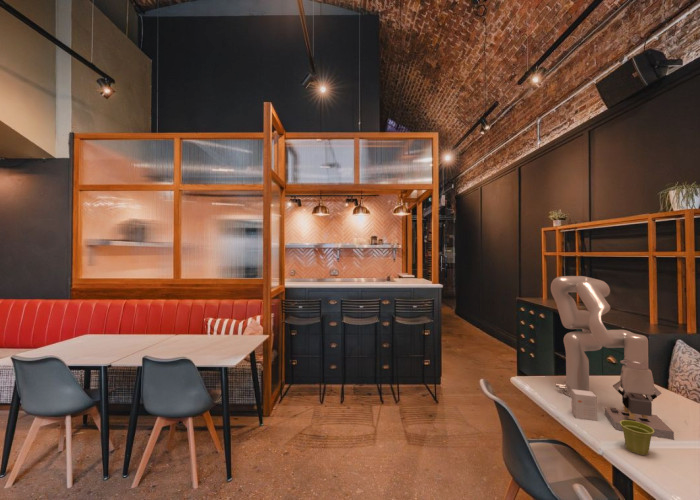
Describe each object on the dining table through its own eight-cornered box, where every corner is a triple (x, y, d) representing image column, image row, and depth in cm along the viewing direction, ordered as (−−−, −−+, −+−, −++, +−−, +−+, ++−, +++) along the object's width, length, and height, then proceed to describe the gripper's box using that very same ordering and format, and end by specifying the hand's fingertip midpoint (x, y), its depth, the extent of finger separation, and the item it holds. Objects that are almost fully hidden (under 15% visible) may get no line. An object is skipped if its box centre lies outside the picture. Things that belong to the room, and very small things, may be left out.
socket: (615, 429, 132) (615, 420, 132) (604, 414, 145) (604, 406, 145) (673, 439, 126) (673, 430, 126) (656, 422, 138) (656, 413, 138)
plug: (631, 419, 132) (631, 398, 132) (622, 409, 141) (622, 389, 141) (651, 422, 130) (651, 401, 130) (641, 412, 138) (641, 392, 138)
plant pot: (613, 443, 123) (613, 420, 123) (636, 442, 124) (636, 419, 124) (637, 459, 114) (637, 434, 114) (661, 457, 115) (661, 432, 115)
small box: (592, 415, 145) (592, 391, 145) (597, 421, 139) (597, 396, 139) (571, 412, 147) (571, 388, 147) (575, 418, 142) (575, 393, 142)
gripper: (613, 364, 136) (614, 408, 135) (667, 370, 129) (668, 416, 129) (607, 359, 142) (607, 400, 142) (658, 364, 136) (659, 407, 136)
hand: (636, 407), depth 135 cm, fingers closed on plug, 6 cm apart
